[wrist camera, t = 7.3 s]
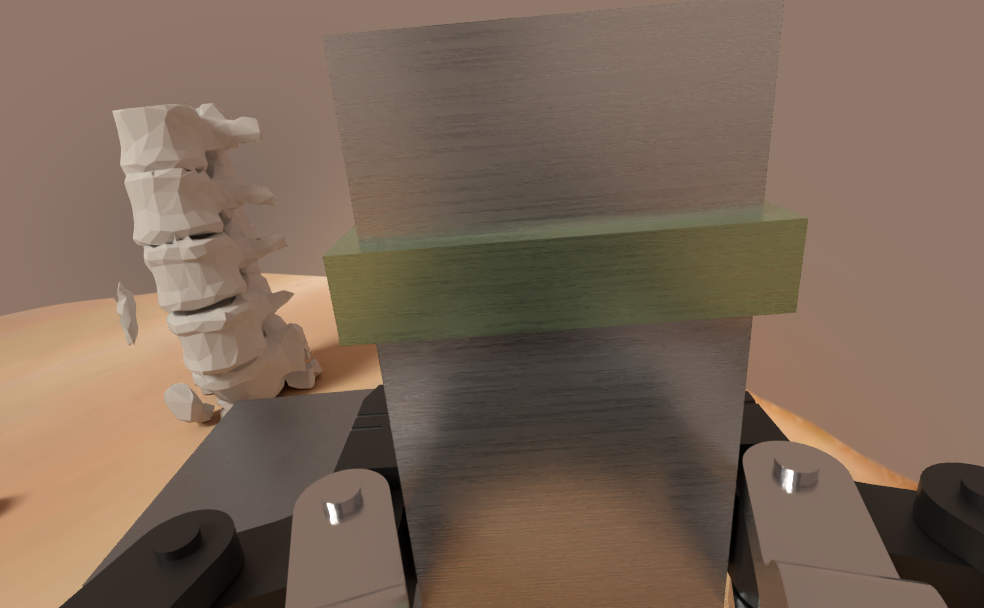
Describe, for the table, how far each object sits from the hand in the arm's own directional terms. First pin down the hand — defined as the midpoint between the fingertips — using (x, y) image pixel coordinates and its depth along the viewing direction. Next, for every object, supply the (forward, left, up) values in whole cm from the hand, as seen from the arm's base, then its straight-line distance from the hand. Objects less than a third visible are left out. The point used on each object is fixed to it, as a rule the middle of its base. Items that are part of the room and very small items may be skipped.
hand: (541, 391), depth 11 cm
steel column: (0, -2, -8) cm, 8 cm away
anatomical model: (-25, +34, -18) cm, 45 cm away
